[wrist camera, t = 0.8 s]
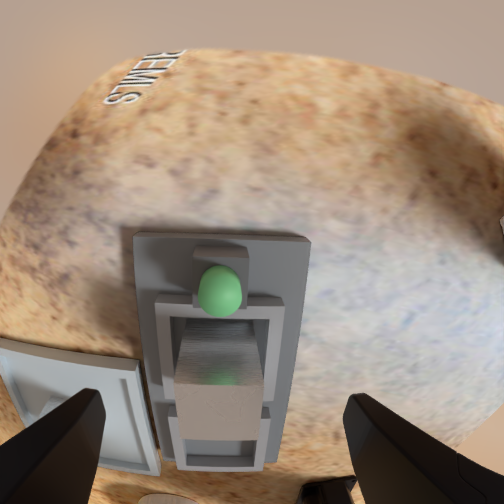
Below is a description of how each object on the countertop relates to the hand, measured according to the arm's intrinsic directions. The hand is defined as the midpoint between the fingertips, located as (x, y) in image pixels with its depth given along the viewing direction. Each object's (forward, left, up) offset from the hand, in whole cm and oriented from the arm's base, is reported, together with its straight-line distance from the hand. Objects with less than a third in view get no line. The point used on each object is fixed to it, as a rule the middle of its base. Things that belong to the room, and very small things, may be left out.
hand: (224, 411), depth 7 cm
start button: (0, 0, -9) cm, 9 cm away
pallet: (-8, 0, -12) cm, 15 cm away
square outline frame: (-14, +13, -12) cm, 23 cm away
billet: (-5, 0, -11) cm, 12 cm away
